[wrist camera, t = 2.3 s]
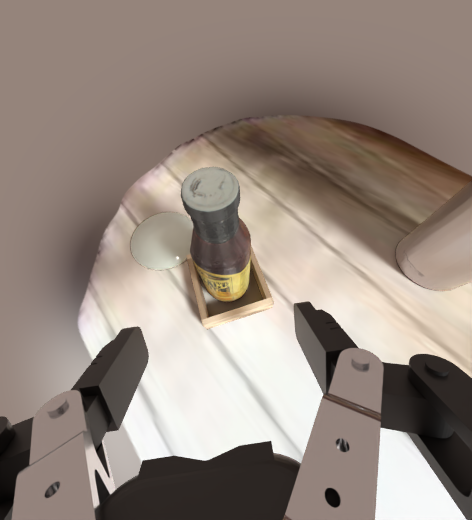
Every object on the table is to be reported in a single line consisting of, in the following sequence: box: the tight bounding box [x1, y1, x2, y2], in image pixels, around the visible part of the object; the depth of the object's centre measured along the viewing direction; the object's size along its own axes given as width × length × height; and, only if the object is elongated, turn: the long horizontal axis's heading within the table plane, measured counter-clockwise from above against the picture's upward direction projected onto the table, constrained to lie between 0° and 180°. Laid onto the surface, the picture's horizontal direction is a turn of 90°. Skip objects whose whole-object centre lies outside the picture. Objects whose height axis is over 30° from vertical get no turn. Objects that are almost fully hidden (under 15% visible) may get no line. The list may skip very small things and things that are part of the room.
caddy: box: [186, 247, 274, 329], centre depth 31 cm, size 9×10×3 cm
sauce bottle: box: [181, 167, 251, 302], centre depth 24 cm, size 7×6×20 cm
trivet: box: [130, 212, 193, 270], centre depth 36 cm, size 11×11×1 cm
